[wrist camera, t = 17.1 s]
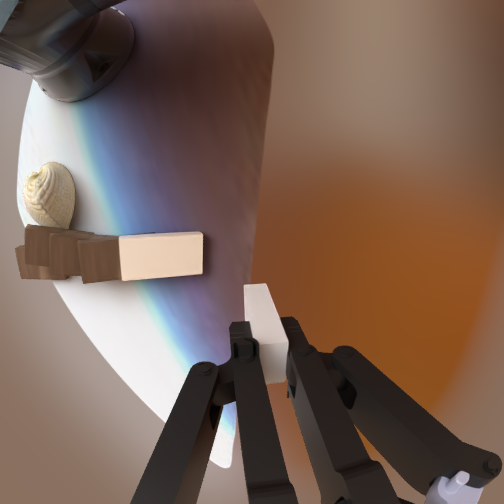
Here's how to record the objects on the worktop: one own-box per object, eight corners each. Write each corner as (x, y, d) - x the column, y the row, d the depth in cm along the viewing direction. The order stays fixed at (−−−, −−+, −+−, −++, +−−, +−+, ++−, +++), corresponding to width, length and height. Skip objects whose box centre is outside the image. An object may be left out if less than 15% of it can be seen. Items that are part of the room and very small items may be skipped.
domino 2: (90, 266, 33) (27, 258, 27) (94, 232, 31) (28, 224, 26) (90, 271, 32) (25, 263, 26) (93, 237, 30) (25, 228, 24)
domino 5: (198, 269, 35) (122, 275, 30) (199, 231, 33) (118, 235, 29) (202, 273, 33) (122, 280, 29) (203, 234, 32) (118, 239, 28)
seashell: (58, 142, 26) (66, 184, 24) (76, 180, 33) (89, 220, 32) (9, 173, 23) (12, 219, 21) (34, 205, 30) (43, 247, 29)
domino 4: (156, 269, 34) (83, 278, 29) (154, 232, 33) (78, 240, 28) (159, 274, 33) (83, 283, 28) (156, 235, 31) (77, 243, 26)
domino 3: (120, 271, 34) (51, 269, 28) (122, 236, 32) (50, 232, 27) (121, 276, 32) (50, 274, 27) (123, 240, 31) (48, 236, 25)
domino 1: (70, 275, 33) (26, 275, 32) (64, 242, 32) (20, 245, 31) (65, 279, 32) (21, 278, 31) (59, 245, 30) (14, 248, 29)
